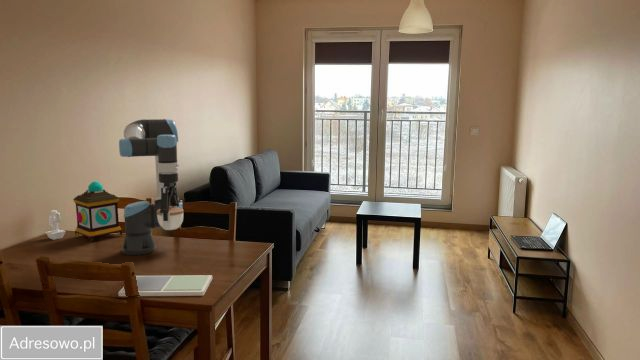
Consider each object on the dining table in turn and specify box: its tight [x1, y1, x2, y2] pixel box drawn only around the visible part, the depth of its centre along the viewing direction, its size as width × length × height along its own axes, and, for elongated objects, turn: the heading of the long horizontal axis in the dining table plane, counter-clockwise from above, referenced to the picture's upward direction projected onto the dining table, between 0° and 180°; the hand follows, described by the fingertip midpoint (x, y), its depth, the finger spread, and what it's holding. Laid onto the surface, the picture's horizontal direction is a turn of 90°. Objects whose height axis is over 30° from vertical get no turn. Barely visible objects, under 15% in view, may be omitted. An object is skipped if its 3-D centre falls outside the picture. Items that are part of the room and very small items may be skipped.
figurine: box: [44, 209, 66, 241], centre depth 246 cm, size 7×9×15 cm
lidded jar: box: [157, 206, 185, 231], centre depth 195 cm, size 11×11×9 cm
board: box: [118, 274, 213, 297], centre depth 181 cm, size 31×17×2 cm, turn 92°
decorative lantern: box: [72, 180, 123, 243], centre depth 248 cm, size 20×20×30 cm
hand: (170, 224), depth 196 cm, fingers closed on lidded jar, 11 cm apart
